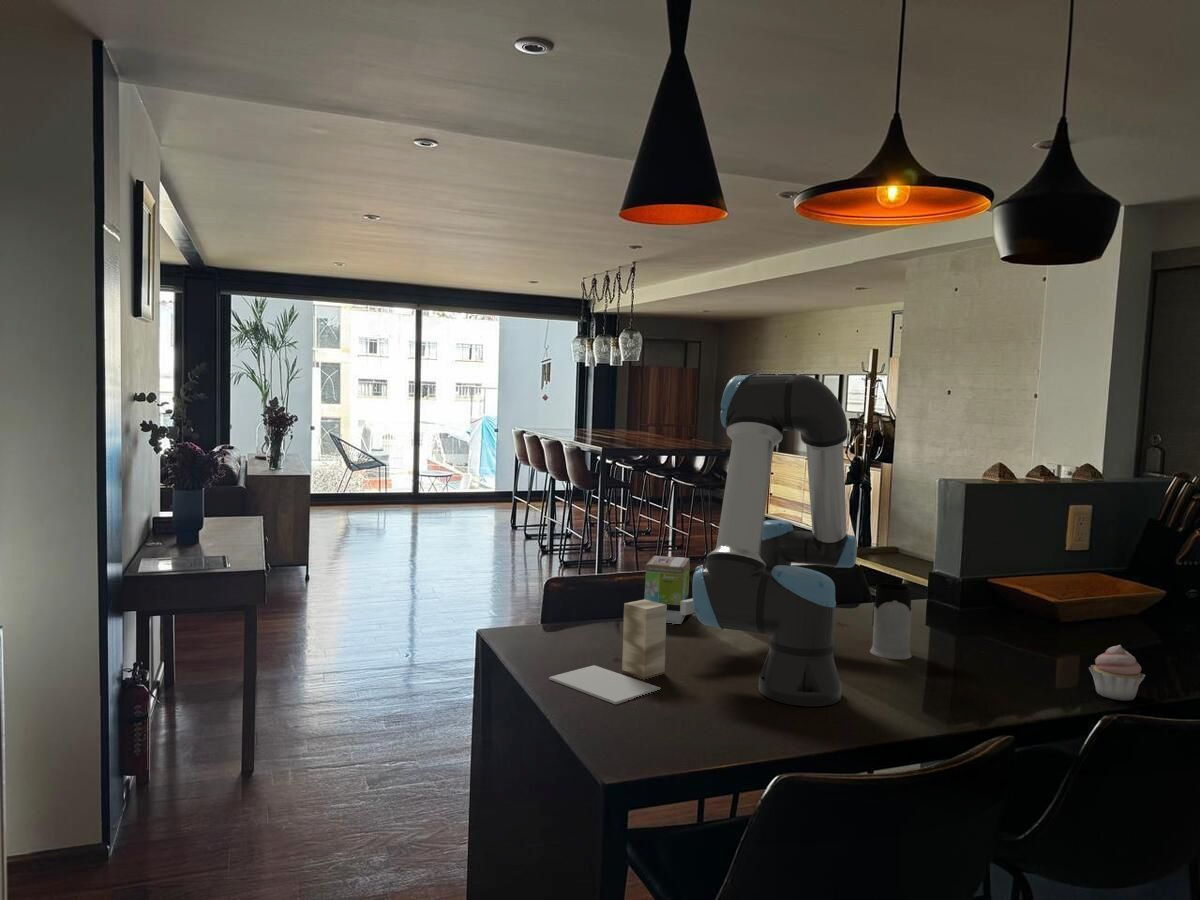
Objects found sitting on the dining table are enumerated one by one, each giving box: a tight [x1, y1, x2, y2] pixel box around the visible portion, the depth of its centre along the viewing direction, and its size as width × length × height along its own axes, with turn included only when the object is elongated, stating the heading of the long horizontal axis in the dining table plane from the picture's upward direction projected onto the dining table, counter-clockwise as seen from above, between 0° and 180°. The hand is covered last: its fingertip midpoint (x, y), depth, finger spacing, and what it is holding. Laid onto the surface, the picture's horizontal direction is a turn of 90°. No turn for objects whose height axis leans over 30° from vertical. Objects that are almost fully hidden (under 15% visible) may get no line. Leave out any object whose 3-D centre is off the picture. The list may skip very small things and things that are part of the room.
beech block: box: [621, 598, 667, 681], centre depth 167 cm, size 6×6×14 cm
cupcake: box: [1088, 644, 1146, 701], centre depth 161 cm, size 9×9×10 cm
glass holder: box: [869, 583, 913, 660], centre depth 189 cm, size 9×14×15 cm, turn 166°
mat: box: [548, 665, 661, 705], centre depth 159 cm, size 18×12×1 cm, turn 44°
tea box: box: [643, 555, 691, 625], centre depth 214 cm, size 15×10×15 cm, turn 168°
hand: (683, 608), depth 175 cm, fingers closed
